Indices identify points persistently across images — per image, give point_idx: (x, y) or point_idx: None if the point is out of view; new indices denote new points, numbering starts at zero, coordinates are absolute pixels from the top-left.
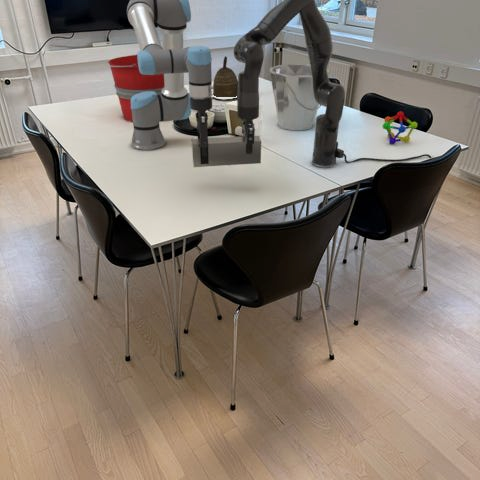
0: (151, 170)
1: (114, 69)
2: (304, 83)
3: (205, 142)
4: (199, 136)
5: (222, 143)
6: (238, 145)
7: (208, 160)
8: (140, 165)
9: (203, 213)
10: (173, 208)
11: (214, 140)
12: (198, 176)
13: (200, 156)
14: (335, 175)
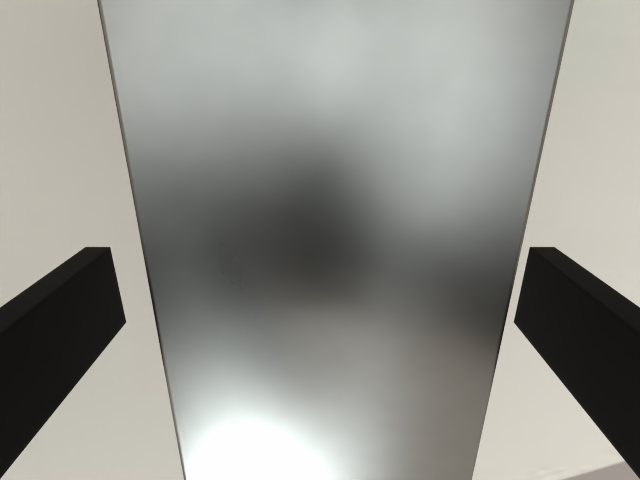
0: (68, 426)
1: None
2: None
3: (422, 402)
4: (2, 439)
5: (565, 22)
6: None
7: (579, 265)
8: (12, 467)
9: (622, 215)
10: (514, 345)
11: (336, 222)
12: (133, 207)
13: (561, 376)
14: None
